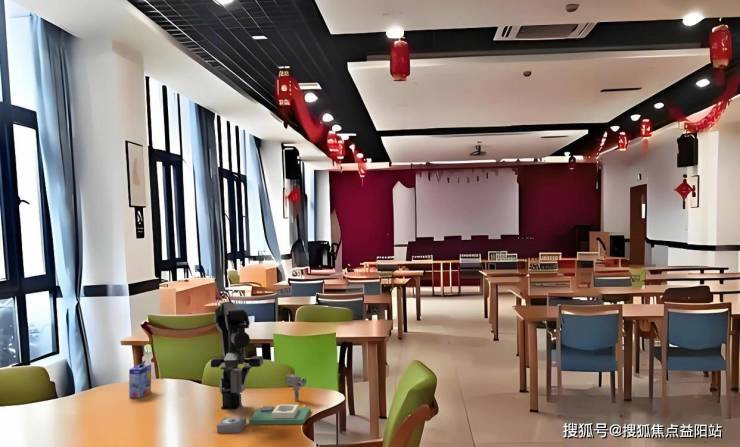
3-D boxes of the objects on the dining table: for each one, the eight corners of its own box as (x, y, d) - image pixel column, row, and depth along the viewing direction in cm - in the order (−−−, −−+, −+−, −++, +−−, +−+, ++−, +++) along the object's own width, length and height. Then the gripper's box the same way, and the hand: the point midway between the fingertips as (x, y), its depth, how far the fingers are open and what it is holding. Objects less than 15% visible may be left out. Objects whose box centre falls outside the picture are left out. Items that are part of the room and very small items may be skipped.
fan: (217, 432, 193) (216, 424, 193) (224, 424, 201) (224, 416, 201) (239, 432, 193) (239, 424, 193) (246, 424, 201) (246, 416, 201)
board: (248, 424, 200) (248, 414, 200) (259, 411, 214) (259, 402, 214) (303, 424, 199) (303, 414, 199) (310, 411, 213) (310, 402, 213)
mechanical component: (303, 403, 222) (302, 378, 222) (285, 399, 228) (284, 375, 229) (308, 401, 225) (307, 377, 225) (290, 397, 231) (289, 373, 231)
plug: (230, 393, 205) (229, 371, 205) (234, 389, 210) (233, 368, 210) (240, 393, 205) (240, 371, 205) (244, 389, 210) (244, 368, 210)
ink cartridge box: (141, 398, 236) (140, 364, 236) (128, 398, 237) (127, 364, 237) (152, 391, 246) (151, 358, 246) (140, 391, 247) (139, 358, 247)
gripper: (204, 348, 201) (205, 391, 201) (255, 347, 199) (256, 390, 199) (215, 341, 212) (216, 382, 212) (263, 340, 210) (264, 382, 210)
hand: (237, 384), depth 208 cm, fingers closed on plug, 4 cm apart
